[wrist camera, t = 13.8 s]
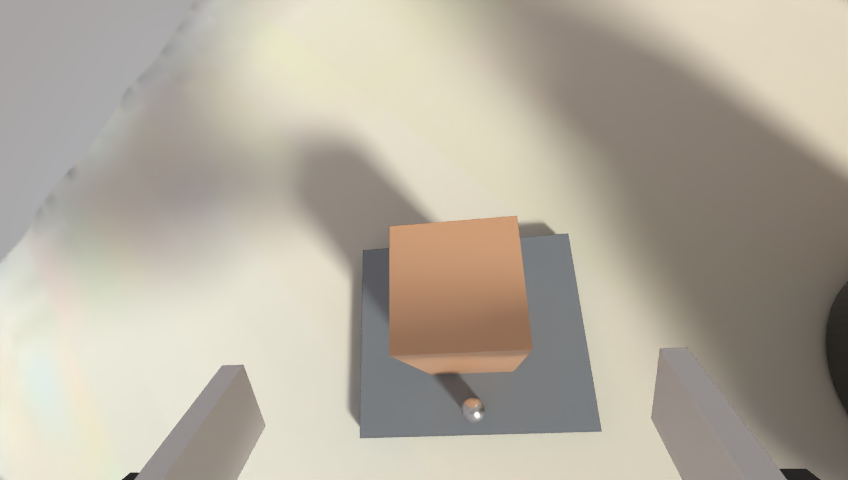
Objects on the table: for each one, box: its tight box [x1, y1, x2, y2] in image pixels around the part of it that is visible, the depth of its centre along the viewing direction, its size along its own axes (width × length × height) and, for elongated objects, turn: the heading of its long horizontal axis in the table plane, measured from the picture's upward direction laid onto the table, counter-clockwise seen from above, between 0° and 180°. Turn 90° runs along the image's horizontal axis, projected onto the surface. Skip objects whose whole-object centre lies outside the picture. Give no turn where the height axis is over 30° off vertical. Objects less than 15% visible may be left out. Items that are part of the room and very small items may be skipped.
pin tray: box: [360, 234, 601, 438], centre depth 26 cm, size 14×12×5 cm
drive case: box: [389, 216, 533, 375], centre depth 21 cm, size 5×5×12 cm
